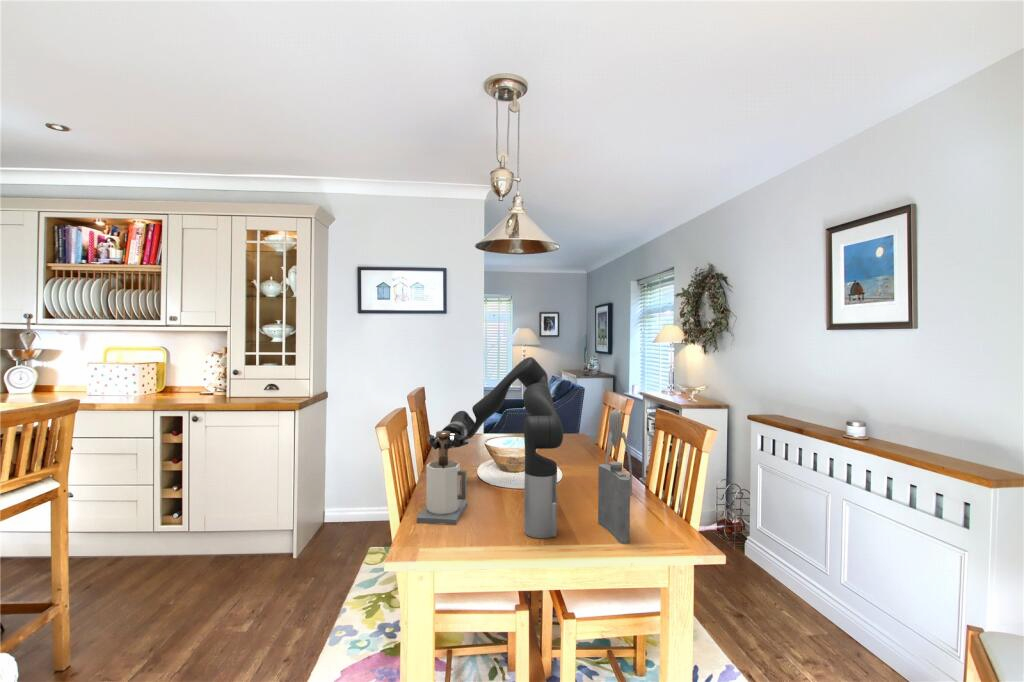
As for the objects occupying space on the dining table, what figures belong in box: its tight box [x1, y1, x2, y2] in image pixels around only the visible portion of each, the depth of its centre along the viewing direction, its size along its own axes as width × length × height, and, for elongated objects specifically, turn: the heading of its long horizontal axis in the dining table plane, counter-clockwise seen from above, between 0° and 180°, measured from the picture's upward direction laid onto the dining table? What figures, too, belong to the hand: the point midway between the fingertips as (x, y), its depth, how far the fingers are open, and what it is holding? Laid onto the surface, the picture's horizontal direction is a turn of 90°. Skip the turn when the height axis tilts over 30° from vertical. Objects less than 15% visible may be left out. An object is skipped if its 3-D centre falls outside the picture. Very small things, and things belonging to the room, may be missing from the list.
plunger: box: [435, 430, 450, 469], centre depth 157 cm, size 8×8×23 cm
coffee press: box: [416, 459, 468, 525], centre depth 157 cm, size 13×16×16 cm
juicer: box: [605, 408, 633, 497], centre depth 175 cm, size 10×9×30 cm
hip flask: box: [597, 461, 631, 545], centre depth 144 cm, size 16×4×20 cm, turn 15°
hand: (440, 446), depth 154 cm, fingers closed on plunger, 3 cm apart
